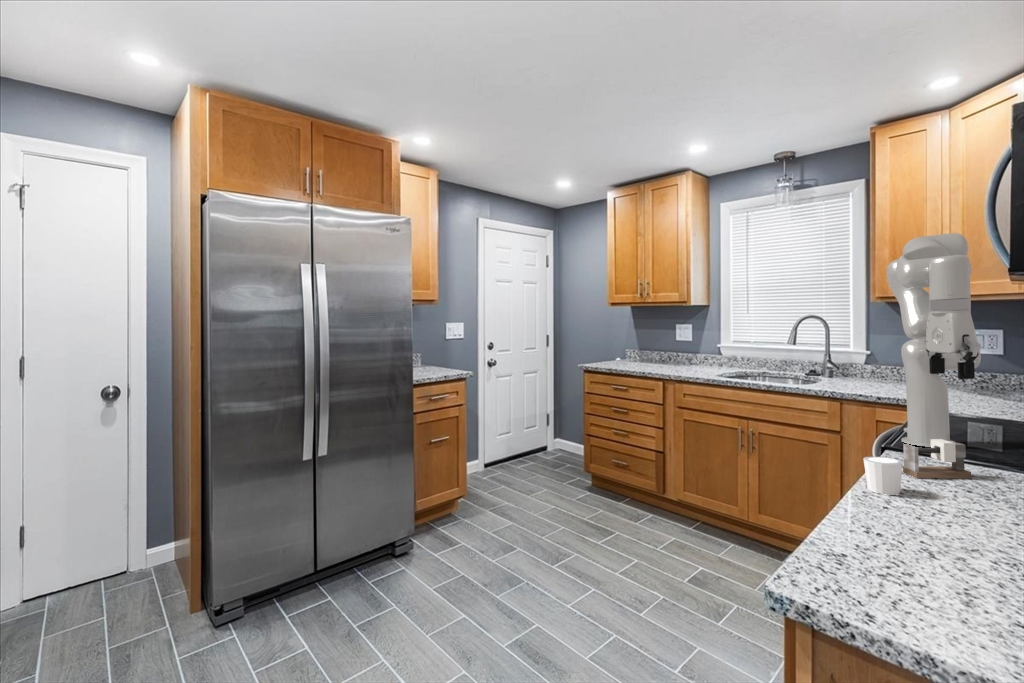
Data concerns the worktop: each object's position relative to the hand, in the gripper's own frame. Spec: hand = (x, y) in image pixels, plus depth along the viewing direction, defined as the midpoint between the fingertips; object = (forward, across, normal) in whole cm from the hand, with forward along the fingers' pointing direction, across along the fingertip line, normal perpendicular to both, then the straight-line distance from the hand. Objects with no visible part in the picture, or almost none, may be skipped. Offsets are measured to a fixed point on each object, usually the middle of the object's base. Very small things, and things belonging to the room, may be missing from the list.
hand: (951, 376), depth 122 cm
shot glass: (+22, +19, -26) cm, 39 cm away
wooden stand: (+23, +6, -8) cm, 25 cm away
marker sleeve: (+19, +6, -6) cm, 21 cm away
